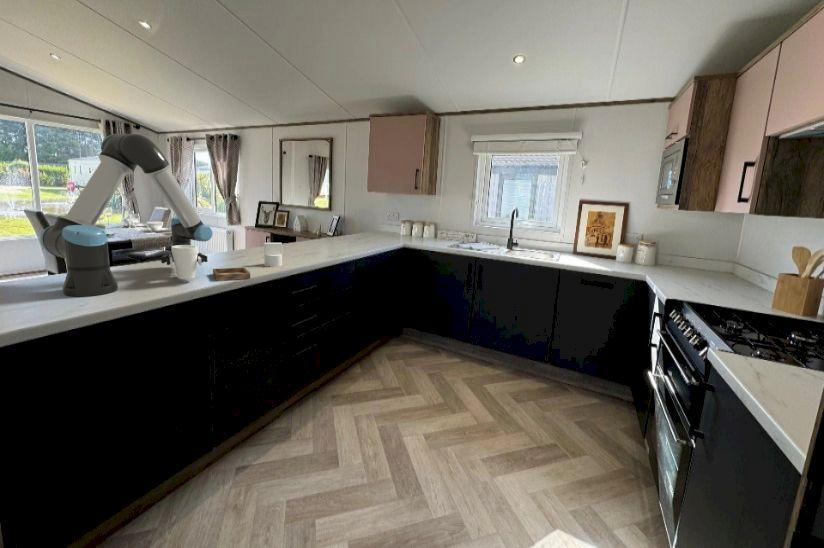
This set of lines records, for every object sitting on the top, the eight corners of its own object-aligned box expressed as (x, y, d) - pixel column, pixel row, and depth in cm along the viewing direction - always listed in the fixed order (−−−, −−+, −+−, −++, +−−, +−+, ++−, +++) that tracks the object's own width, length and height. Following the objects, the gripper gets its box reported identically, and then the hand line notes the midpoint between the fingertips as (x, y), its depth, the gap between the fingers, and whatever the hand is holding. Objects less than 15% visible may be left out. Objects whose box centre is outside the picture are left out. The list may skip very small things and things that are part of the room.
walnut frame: (216, 280, 161) (216, 275, 160) (213, 274, 172) (212, 268, 171) (250, 278, 168) (250, 273, 168) (244, 272, 179) (244, 267, 179)
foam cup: (186, 280, 150) (185, 249, 148) (167, 278, 152) (165, 246, 149) (204, 276, 159) (203, 246, 157) (185, 274, 161) (184, 244, 158)
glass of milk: (265, 266, 195) (265, 244, 193) (263, 263, 203) (263, 241, 200) (283, 266, 199) (283, 244, 197) (280, 263, 207) (280, 242, 205)
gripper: (210, 261, 176) (216, 270, 158) (154, 262, 163) (153, 273, 145) (210, 245, 174) (216, 253, 156) (153, 246, 162) (152, 254, 144)
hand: (186, 262), depth 151 cm, fingers closed on foam cup, 9 cm apart
